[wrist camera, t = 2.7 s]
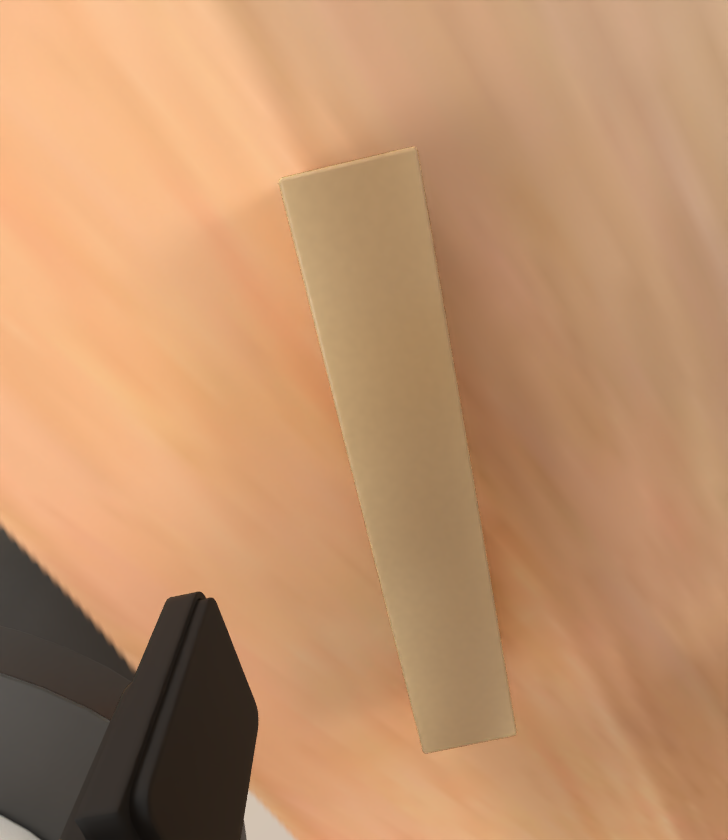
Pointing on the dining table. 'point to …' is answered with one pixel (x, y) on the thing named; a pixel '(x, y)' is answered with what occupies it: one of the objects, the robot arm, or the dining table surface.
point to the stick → (404, 434)
